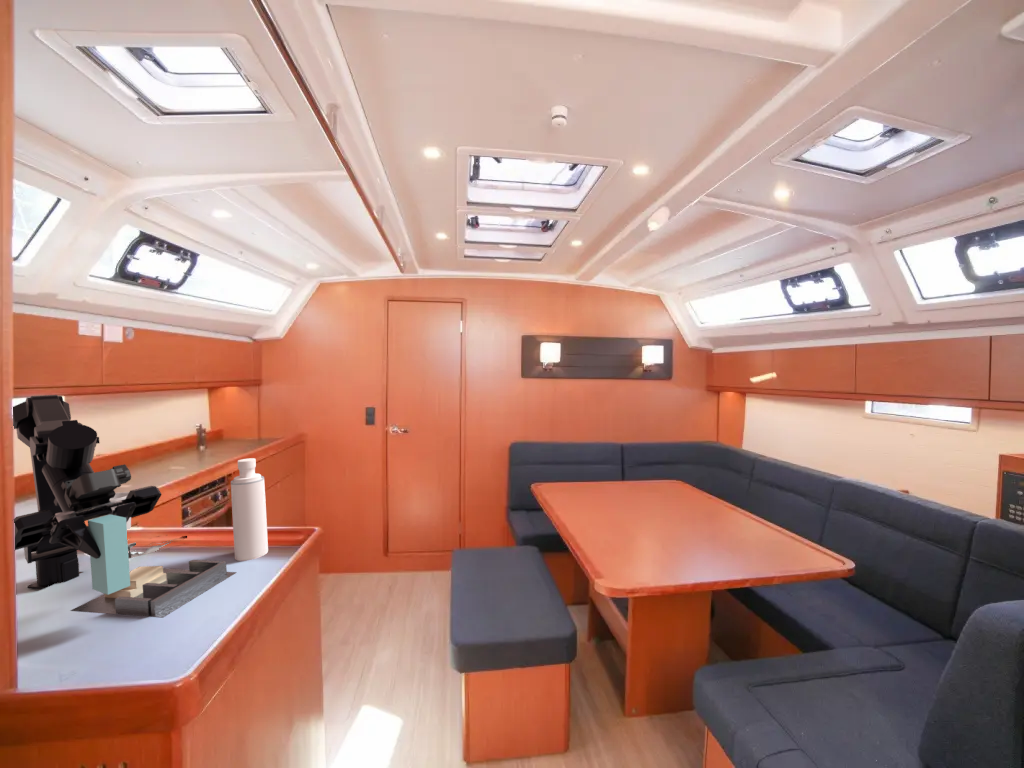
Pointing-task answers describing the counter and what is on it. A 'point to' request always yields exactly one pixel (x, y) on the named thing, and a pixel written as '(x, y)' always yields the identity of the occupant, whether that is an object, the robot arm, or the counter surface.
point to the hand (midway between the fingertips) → (111, 552)
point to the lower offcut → (138, 590)
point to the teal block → (110, 554)
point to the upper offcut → (143, 575)
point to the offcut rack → (164, 591)
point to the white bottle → (249, 512)
